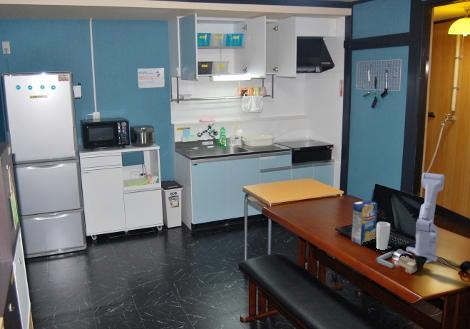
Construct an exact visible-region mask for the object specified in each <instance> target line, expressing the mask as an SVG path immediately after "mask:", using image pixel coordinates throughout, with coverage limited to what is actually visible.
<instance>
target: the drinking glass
mask: <svg viewBox="0 0 470 329" xmlns="http://www.w3.org/2000/svg"><path fill="white" fill-rule="evenodd" d="M390 234H391V223H389V222H386V221H378V222H376V231H375V241H376V248H377V249H380V250H385V249H387V250H388V246H389V245H388V244H389V239H390ZM376 248H375V249H376Z"/></svg>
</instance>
